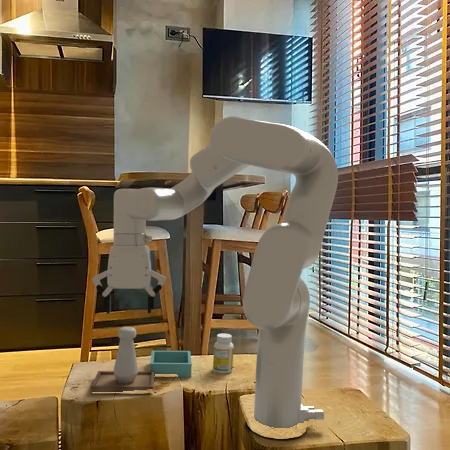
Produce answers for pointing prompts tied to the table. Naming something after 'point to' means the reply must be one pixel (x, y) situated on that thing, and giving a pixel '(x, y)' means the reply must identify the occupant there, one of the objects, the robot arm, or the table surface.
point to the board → (108, 383)
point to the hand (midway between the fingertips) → (129, 312)
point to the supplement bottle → (223, 354)
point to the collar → (171, 362)
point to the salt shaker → (126, 357)
